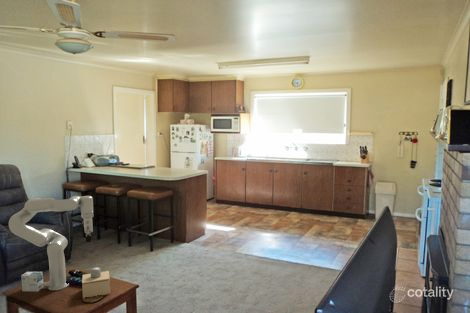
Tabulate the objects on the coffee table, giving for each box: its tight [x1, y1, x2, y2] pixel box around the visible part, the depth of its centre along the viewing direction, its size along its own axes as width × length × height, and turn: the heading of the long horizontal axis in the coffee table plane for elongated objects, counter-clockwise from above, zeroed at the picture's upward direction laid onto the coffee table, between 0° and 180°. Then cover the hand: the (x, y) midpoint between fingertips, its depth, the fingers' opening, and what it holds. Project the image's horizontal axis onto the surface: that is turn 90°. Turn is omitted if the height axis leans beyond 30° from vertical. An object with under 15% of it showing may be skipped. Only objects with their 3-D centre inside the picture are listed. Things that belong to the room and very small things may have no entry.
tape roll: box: [90, 266, 102, 278], centre depth 230 cm, size 6×6×5 cm
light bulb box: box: [20, 271, 45, 292], centre depth 235 cm, size 11×7×11 cm, turn 87°
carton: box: [81, 278, 111, 299], centre depth 231 cm, size 16×14×9 cm
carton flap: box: [81, 270, 111, 285], centre depth 231 cm, size 16×14×1 cm
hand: (88, 239), depth 240 cm, fingers open, 9 cm apart
